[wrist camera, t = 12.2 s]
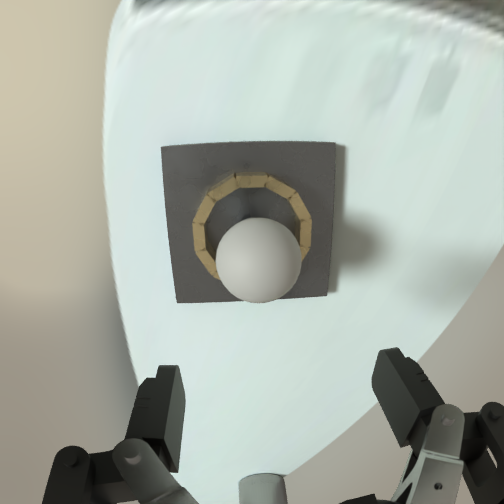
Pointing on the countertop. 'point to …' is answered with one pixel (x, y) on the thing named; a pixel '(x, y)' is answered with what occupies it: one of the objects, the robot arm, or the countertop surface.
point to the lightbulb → (258, 260)
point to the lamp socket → (247, 207)
